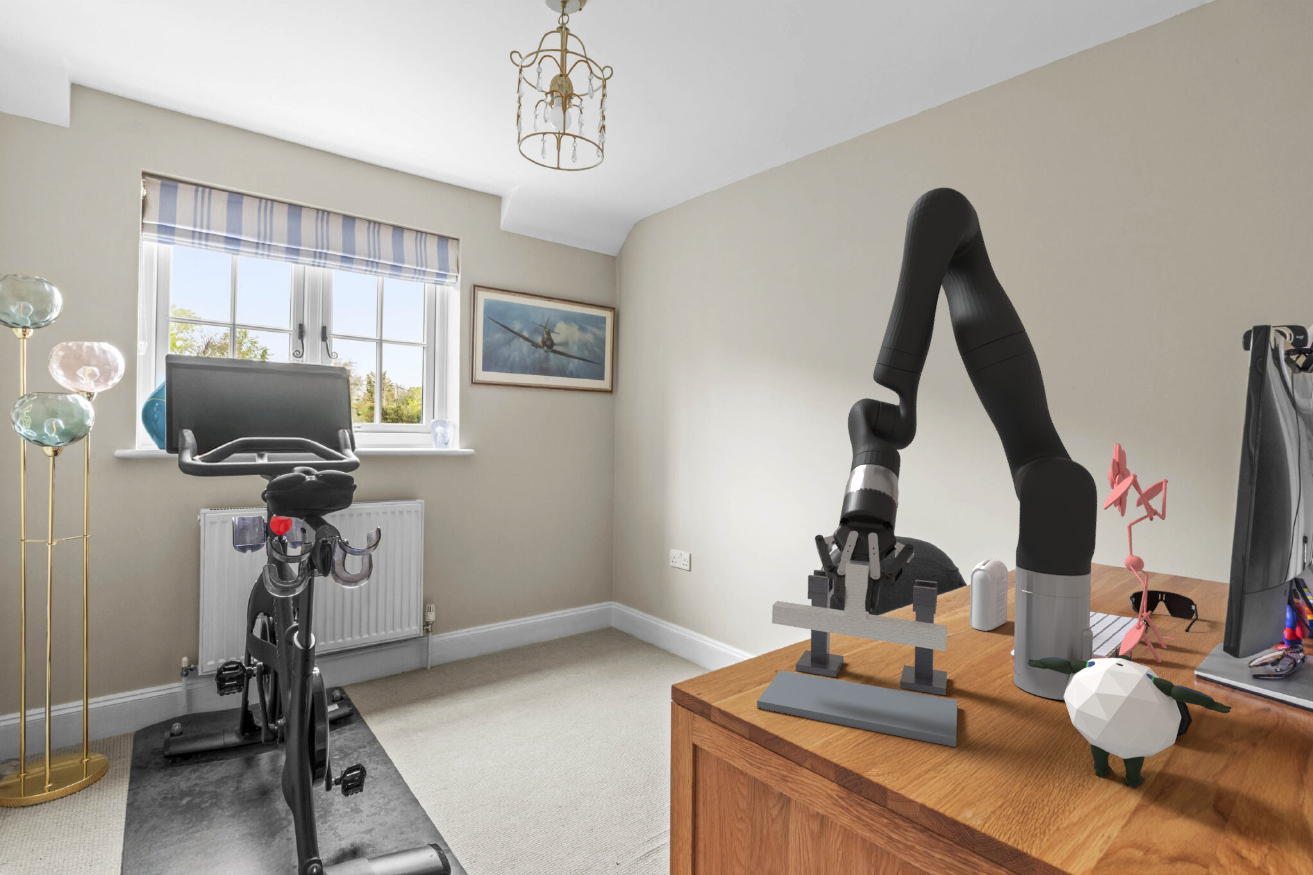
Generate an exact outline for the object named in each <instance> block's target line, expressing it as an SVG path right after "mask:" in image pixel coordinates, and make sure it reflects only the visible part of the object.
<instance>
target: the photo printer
mask: <svg viewBox="0 0 1313 875" xmlns="http://www.w3.org/2000/svg"><path fill="white" fill-rule="evenodd" d="M1008 581H1009V570H1008V567H1007V566H1006V564H1005V563H1004V562H1002V561H1000V559H999V560H998V559H991V558H988V559H984V560H983V561H981V562H979V563H978V564H976V565H975V566H974V567H973V569H972V570H971V574H970V587H969V588H970V596H969V598H970V599H969V624H970V627H972V629H973V630H979V631H985V632H988V631H992V630H994V629H996V628H998V627H1000V626H1002V625H1003V624H1005V623H1007V621H1008V600H1009V599H1008V594H1009V593H1008V590H1009V588H1008V587H1009V582H1008Z"/></svg>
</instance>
